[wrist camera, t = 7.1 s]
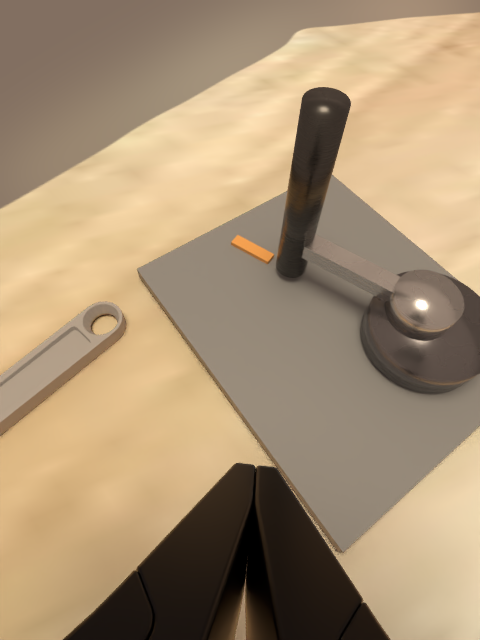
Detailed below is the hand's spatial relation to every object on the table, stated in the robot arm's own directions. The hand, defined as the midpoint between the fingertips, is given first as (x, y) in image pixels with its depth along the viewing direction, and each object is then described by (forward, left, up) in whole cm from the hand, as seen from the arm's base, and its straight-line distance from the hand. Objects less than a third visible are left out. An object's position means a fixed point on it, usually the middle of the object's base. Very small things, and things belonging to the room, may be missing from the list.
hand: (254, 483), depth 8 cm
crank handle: (+4, -13, -12) cm, 18 cm away
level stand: (+6, -12, -14) cm, 19 cm away
